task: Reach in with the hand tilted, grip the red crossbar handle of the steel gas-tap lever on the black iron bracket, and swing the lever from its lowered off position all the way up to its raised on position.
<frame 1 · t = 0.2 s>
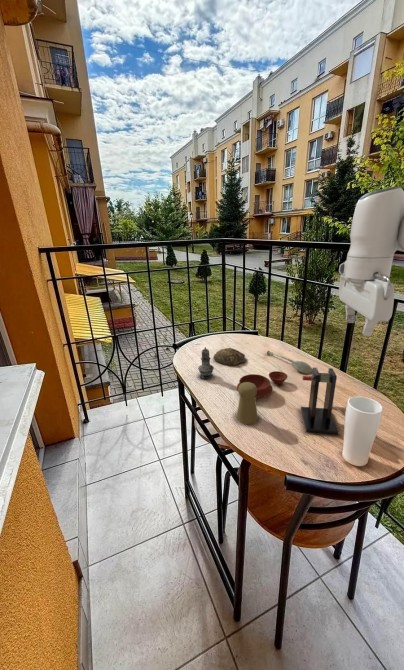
hand: (357, 328, 67), 28 cm above the table, tool pointing down, fingers open, 8 cm apart
soupspoon: (287, 363, 113), on the table
brown rounded lump: (230, 359, 119), on the table
pottery: (263, 389, 96), on the table
olive pawn figure: (247, 418, 82), on the table
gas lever: (318, 378, 80), point 11 cm above the table, hinge at -30.0°
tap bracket: (318, 421, 79), on the table
grey tall knobbed piece: (206, 376, 106), on the table
drinking glass: (354, 459, 66), on the table
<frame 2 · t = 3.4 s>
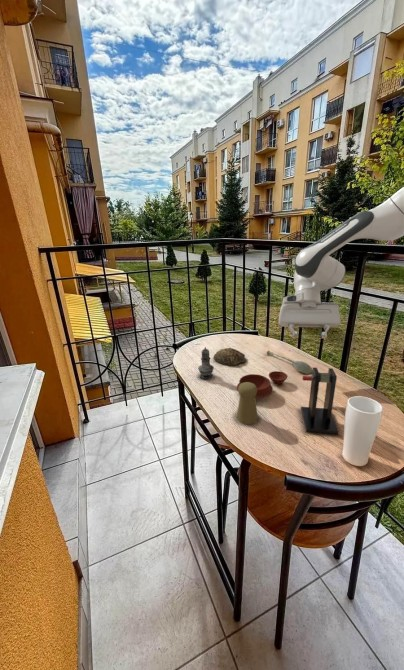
hand: (309, 337, 95), 16 cm above the table, tool tilted 45°, fingers open, 8 cm apart
nothing on the table moved.
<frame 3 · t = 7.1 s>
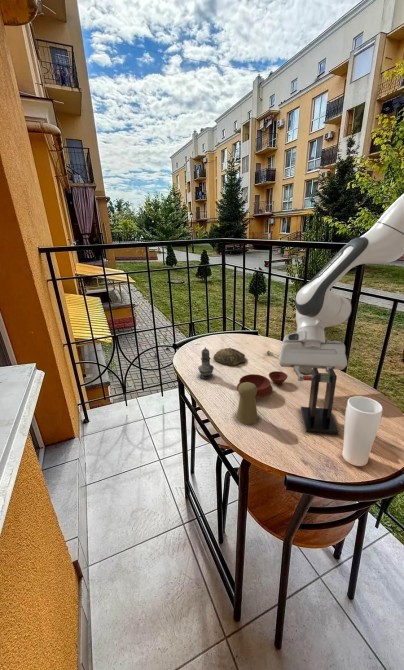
hand: (312, 381, 87), 6 cm above the table, tool tilted 45°, fingers closed on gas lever, 6 cm apart
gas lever: (318, 378, 80), point 11 cm above the table, hinge at -30.0°, touching gripper
everything else where it was.
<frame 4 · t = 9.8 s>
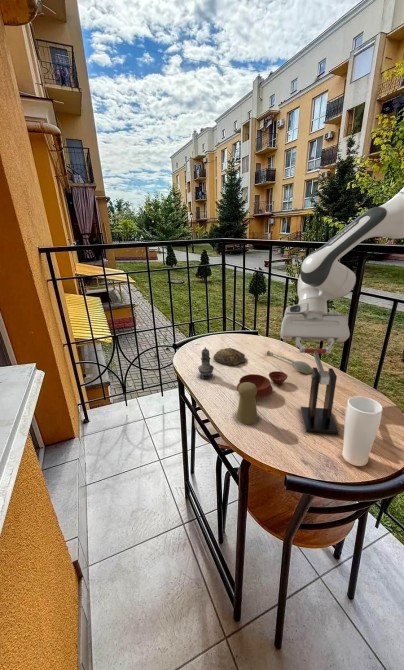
hand: (314, 352, 85), 15 cm above the table, tool tilted 45°, fingers closed on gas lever, 6 cm apart
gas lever: (319, 363, 79), point 15 cm above the table, hinge at 6.7°, touching gripper
everything else where it was.
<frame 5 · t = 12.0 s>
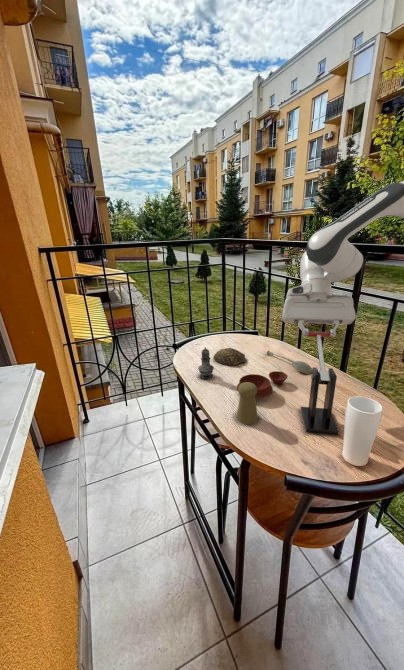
hand: (318, 335, 81), 22 cm above the table, tool tilted 45°, fingers closed on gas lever, 6 cm apart
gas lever: (321, 356, 77), point 18 cm above the table, hinge at 34.3°, touching gripper
everything else where it was.
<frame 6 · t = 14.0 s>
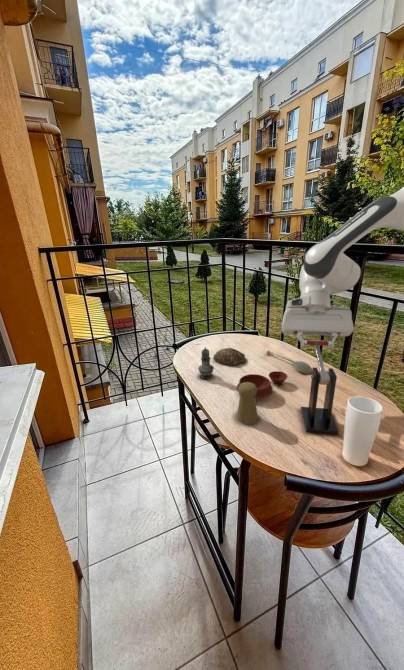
hand: (317, 347, 82), 18 cm above the table, tool tilted 45°, fingers open, 6 cm apart
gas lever: (319, 359, 79), point 16 cm above the table, hinge at 19.2°
everything else where it was.
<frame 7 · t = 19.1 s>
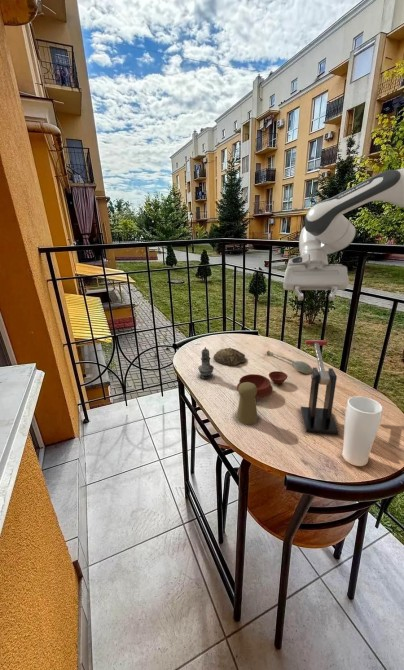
hand: (316, 299, 90), 29 cm above the table, tool tilted 45°, fingers open, 8 cm apart
nothing on the table moved.
at the end: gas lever at +19° (first picture: -30°); drinking glass moved 0.2 cm from its start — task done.
